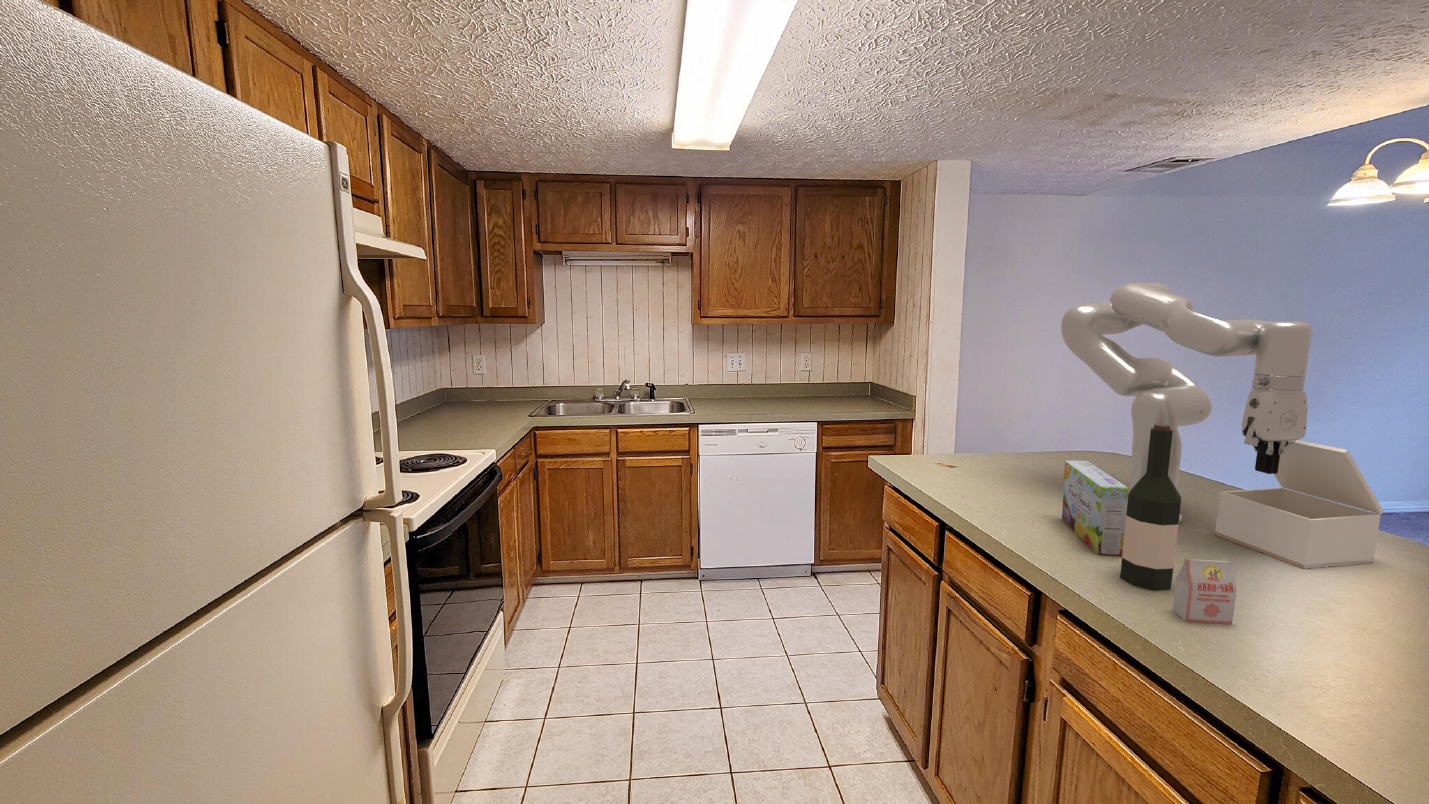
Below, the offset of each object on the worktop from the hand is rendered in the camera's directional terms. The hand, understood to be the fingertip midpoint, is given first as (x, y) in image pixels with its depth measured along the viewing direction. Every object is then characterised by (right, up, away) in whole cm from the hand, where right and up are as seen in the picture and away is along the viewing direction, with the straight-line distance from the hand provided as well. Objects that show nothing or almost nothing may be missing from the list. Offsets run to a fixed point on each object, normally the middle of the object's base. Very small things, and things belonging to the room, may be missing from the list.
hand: (1265, 471), depth 121 cm
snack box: (-29, -16, +12) cm, 35 cm away
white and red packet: (-32, -22, -23) cm, 45 cm away
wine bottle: (-32, -20, -10) cm, 39 cm away
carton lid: (+11, 0, +2) cm, 11 cm away
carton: (+9, -17, +4) cm, 19 cm away
